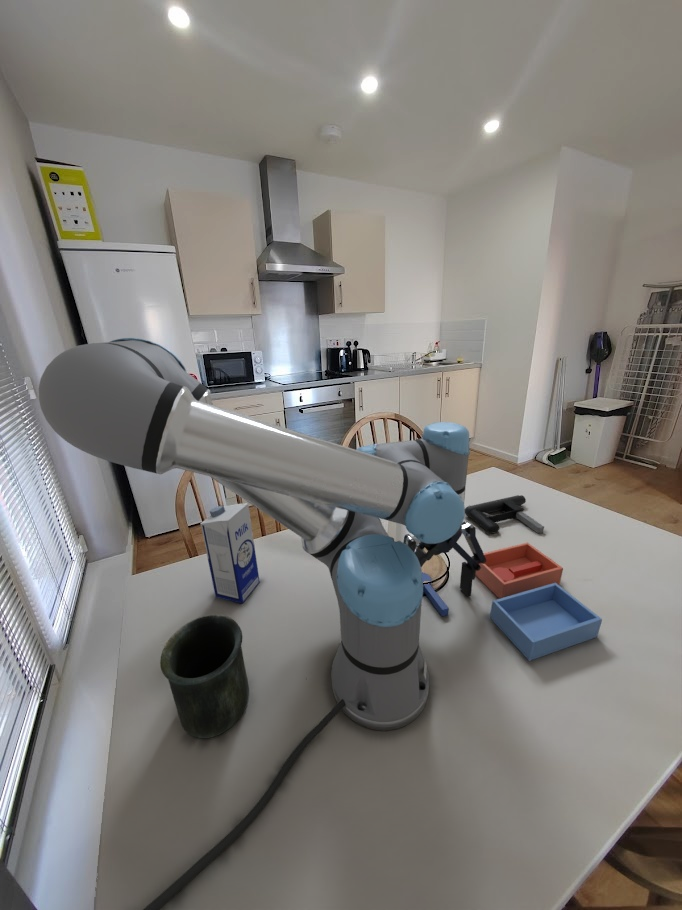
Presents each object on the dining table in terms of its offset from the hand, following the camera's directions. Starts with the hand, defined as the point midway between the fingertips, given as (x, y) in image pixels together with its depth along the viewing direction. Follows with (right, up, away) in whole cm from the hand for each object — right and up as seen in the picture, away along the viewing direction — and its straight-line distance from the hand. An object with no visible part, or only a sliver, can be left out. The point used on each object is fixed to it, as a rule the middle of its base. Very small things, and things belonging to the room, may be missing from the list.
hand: (435, 600), depth 72 cm
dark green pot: (-39, -8, -16) cm, 43 cm away
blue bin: (+17, -2, -7) cm, 19 cm away
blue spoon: (-1, 0, +2) cm, 2 cm away
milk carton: (-42, 0, +5) cm, 42 cm away
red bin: (+19, +3, +6) cm, 20 cm away
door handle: (+27, +11, +27) cm, 40 cm away
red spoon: (+19, +3, +6) cm, 20 cm away
